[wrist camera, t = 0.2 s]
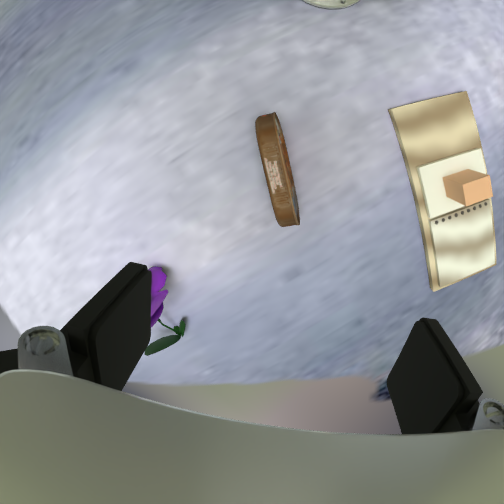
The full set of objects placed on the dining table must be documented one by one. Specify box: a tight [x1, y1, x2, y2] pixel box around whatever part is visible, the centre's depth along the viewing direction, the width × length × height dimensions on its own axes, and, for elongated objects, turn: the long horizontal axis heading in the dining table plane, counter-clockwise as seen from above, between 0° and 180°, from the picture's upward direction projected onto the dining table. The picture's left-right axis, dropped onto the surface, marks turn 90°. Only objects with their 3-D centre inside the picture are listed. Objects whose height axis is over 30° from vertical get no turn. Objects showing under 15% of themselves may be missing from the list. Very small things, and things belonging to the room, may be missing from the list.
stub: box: [416, 148, 493, 219], centre depth 37 cm, size 8×12×7 cm, turn 112°
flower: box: [145, 267, 185, 356], centre depth 50 cm, size 15×15×14 cm
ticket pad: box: [388, 91, 496, 292], centre depth 41 cm, size 30×14×3 cm, turn 22°
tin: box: [255, 112, 300, 227], centre depth 40 cm, size 15×3×8 cm, turn 13°
